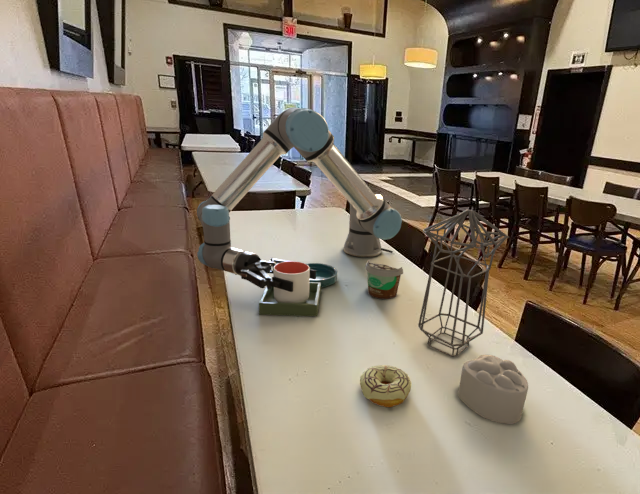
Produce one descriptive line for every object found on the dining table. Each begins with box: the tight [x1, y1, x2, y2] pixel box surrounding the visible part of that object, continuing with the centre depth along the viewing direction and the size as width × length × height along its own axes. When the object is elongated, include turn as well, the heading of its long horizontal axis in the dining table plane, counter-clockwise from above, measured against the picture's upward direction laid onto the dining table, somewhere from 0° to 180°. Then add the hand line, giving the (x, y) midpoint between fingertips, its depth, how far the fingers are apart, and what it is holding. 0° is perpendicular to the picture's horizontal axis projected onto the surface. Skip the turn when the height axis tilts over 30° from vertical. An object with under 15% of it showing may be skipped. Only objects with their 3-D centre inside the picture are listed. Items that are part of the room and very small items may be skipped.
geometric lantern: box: [417, 209, 510, 358], centre depth 99 cm, size 16×16×35 cm
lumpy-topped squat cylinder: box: [457, 354, 529, 425], centre depth 84 cm, size 10×13×9 cm
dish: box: [304, 262, 338, 288], centre depth 137 cm, size 15×15×3 cm
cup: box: [272, 260, 310, 303], centre depth 118 cm, size 10×10×10 cm
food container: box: [364, 259, 404, 300], centre depth 128 cm, size 12×6×10 cm, turn 68°
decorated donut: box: [359, 364, 412, 408], centre depth 85 cm, size 10×11×4 cm
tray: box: [258, 282, 322, 317], centre depth 120 cm, size 16×16×4 cm
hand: (304, 280), depth 116 cm, fingers closed on cup, 10 cm apart
